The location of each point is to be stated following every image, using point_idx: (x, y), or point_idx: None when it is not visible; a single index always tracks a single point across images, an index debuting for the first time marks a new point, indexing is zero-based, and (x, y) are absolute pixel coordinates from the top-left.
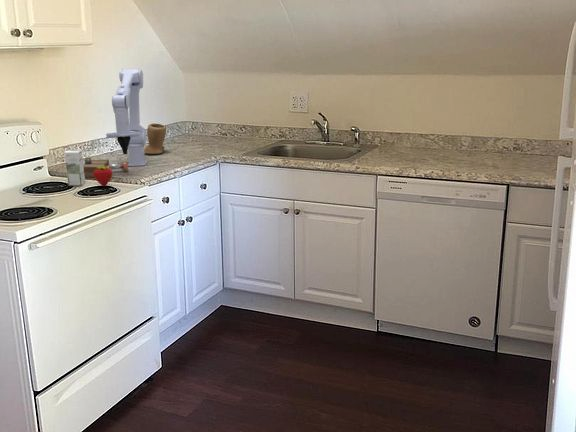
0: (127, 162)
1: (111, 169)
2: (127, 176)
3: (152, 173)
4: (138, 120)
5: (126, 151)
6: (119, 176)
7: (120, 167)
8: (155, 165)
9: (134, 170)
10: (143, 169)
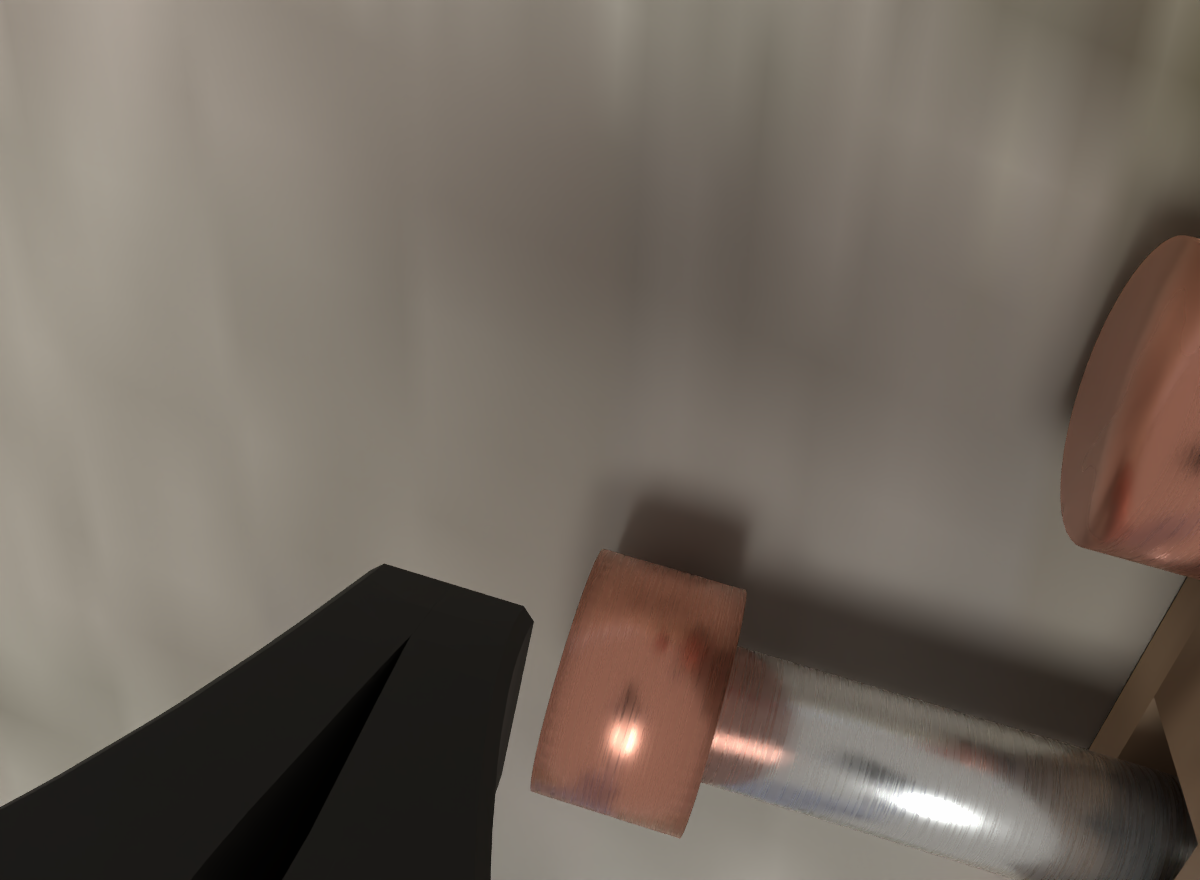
0: (541, 734)
1: (1122, 417)
2: (655, 35)
3: (14, 149)
4: None
5: (290, 629)
6: (892, 133)
7: (775, 665)
8: None
9: None
10: (276, 628)
